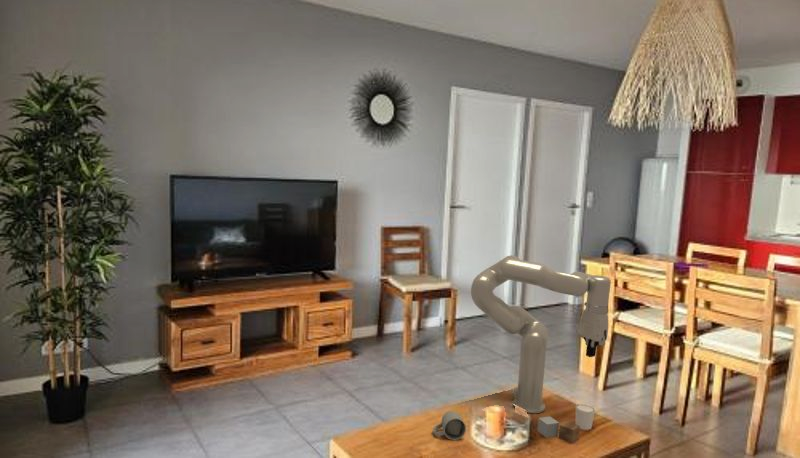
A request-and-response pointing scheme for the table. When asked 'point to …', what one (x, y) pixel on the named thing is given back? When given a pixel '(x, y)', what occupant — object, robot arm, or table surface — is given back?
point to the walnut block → (569, 432)
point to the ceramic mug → (451, 426)
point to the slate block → (548, 427)
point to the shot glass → (584, 416)
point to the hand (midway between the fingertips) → (590, 356)
